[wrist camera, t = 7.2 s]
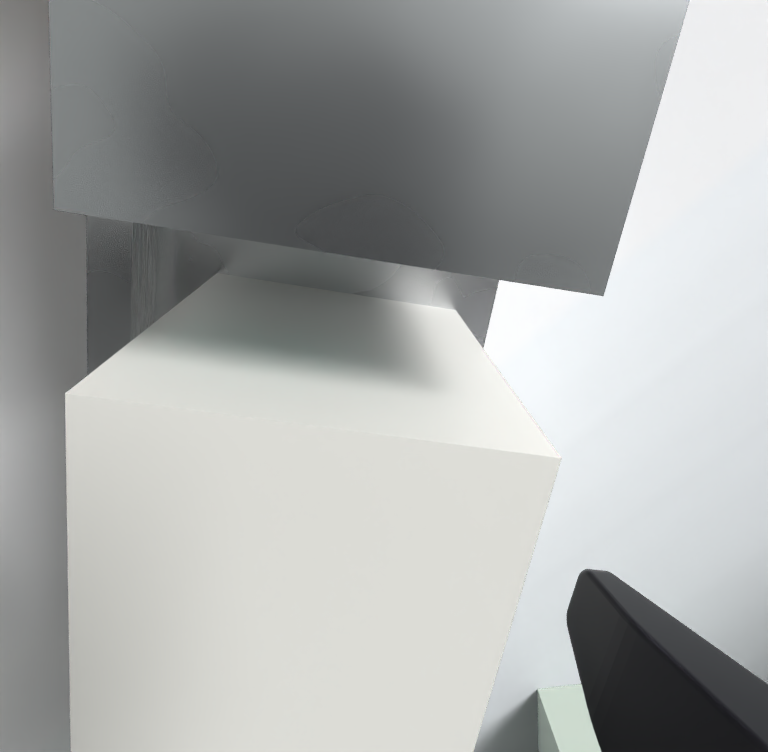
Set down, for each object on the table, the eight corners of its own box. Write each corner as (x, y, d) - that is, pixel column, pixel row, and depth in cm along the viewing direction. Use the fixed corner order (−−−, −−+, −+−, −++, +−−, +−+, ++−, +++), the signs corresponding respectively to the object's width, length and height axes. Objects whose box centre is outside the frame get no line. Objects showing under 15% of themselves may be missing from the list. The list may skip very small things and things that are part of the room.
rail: (565, -97, 10) (1011, -648, 3) (375, 767, 17) (390, 1169, 10) (148, -193, 9) (-400, -1155, 3) (127, 752, 16) (-34, 1172, 9)
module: (455, 309, 11) (560, 458, 5) (392, 608, 13) (420, 927, 8) (217, 272, 11) (64, 393, 5) (194, 589, 13) (73, 912, 7)
